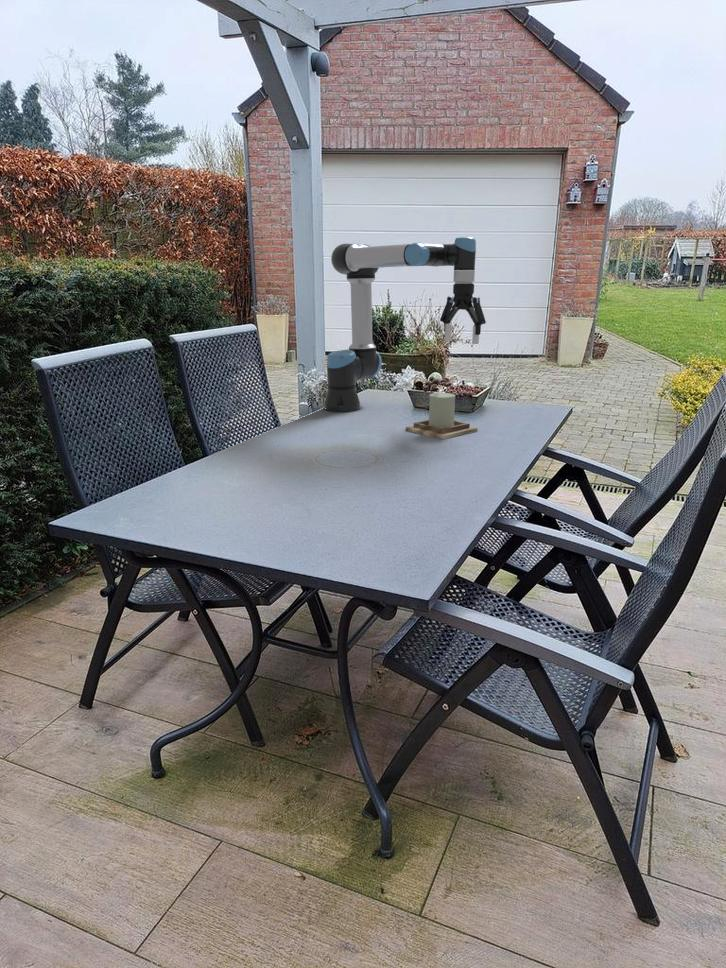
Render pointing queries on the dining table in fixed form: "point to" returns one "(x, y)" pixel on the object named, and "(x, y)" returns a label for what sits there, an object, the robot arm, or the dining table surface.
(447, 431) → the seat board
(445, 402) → the can
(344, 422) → the dining table surface
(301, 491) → the dining table surface
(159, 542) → the dining table surface
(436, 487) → the dining table surface
